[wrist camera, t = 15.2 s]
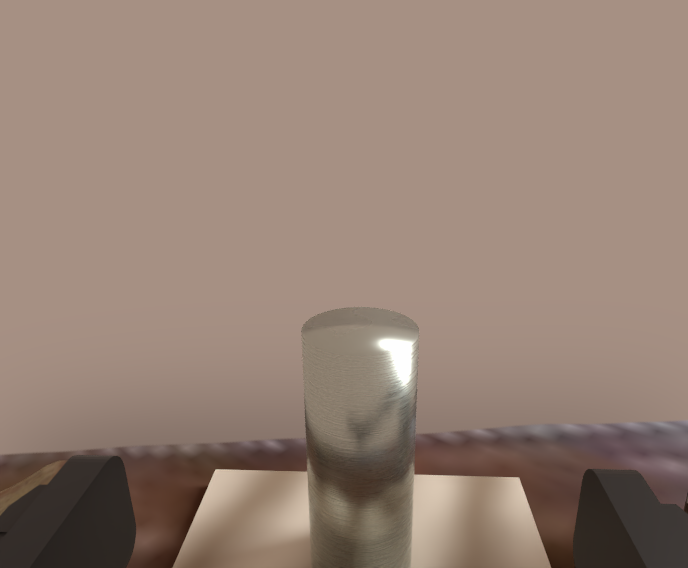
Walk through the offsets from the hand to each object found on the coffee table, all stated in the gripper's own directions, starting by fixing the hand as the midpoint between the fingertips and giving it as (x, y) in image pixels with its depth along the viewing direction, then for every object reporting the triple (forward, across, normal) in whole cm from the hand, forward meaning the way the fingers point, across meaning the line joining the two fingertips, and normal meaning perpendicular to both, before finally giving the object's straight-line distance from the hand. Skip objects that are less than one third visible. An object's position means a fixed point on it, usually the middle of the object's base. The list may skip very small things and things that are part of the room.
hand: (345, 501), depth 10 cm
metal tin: (+13, 0, +16) cm, 21 cm away
